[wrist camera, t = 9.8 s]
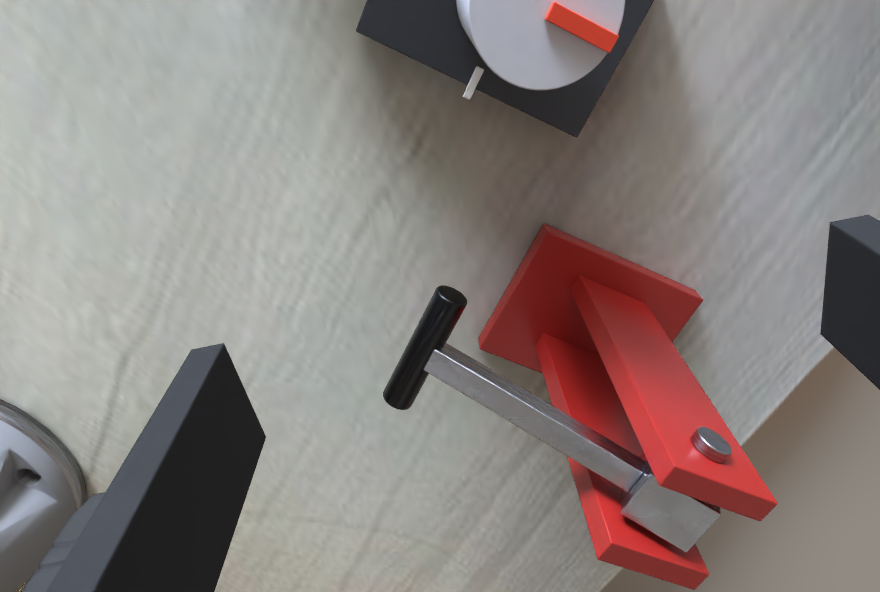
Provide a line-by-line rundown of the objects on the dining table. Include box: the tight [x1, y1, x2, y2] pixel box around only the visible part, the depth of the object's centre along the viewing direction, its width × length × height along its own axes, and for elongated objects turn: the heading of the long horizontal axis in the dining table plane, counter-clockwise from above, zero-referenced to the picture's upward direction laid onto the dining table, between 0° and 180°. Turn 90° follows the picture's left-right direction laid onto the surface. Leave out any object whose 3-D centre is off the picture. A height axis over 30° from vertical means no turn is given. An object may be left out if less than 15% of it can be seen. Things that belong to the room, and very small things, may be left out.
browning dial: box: [456, 0, 625, 90], centre depth 23 cm, size 5×5×8 cm
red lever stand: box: [478, 224, 777, 590], centre depth 29 cm, size 10×8×16 cm
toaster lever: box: [383, 285, 721, 552], centre depth 25 cm, size 13×6×2 cm, turn 65°
